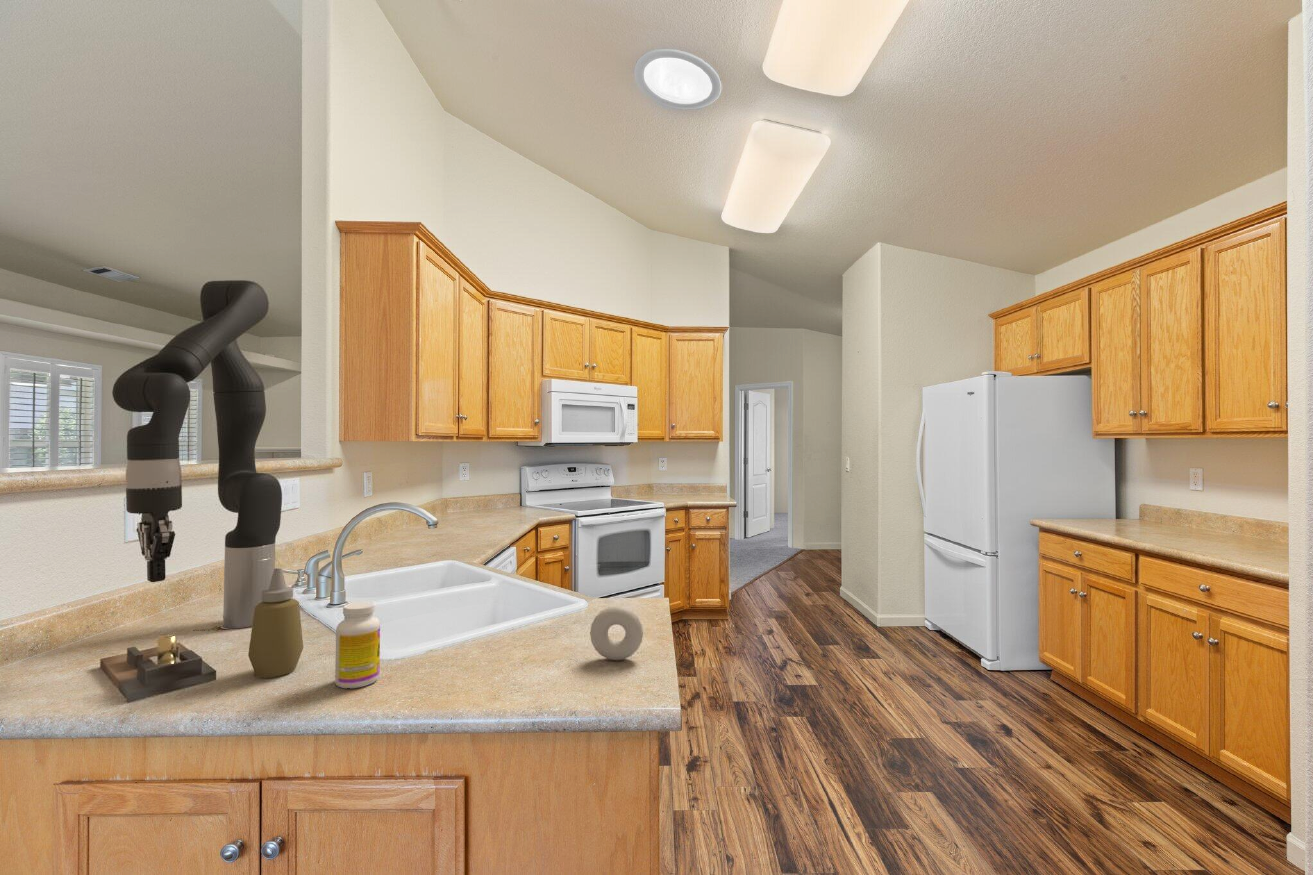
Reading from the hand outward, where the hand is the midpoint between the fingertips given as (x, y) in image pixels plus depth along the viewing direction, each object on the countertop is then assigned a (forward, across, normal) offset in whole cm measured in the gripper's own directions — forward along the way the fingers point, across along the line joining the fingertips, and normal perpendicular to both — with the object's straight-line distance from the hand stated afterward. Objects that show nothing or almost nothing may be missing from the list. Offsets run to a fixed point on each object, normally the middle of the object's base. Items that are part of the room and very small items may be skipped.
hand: (156, 580), depth 103 cm
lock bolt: (+13, -11, +2) cm, 18 cm away
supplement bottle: (+16, -36, -18) cm, 43 cm away
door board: (+15, -5, +1) cm, 16 cm away
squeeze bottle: (+16, -21, -11) cm, 28 cm away
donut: (+17, -64, -52) cm, 84 cm away
